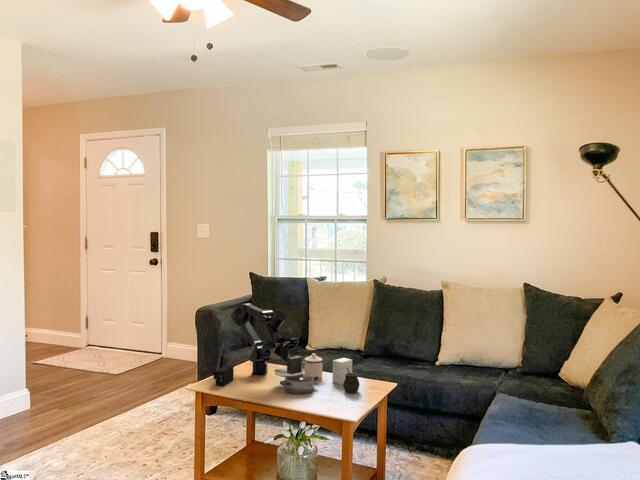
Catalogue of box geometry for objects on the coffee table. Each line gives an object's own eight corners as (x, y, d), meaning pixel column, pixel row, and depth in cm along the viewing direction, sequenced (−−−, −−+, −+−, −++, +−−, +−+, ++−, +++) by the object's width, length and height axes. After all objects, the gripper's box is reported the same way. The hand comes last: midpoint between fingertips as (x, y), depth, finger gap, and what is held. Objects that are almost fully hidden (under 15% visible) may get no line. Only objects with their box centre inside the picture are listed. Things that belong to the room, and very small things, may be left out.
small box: (343, 379, 263) (344, 357, 263) (352, 381, 259) (352, 359, 259) (332, 382, 258) (332, 360, 257) (340, 384, 254) (341, 362, 253)
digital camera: (222, 379, 260) (223, 364, 260) (233, 380, 258) (233, 365, 258) (213, 385, 250) (213, 370, 250) (224, 386, 248) (224, 371, 248)
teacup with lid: (326, 377, 266) (326, 353, 266) (315, 381, 258) (315, 357, 258) (306, 372, 273) (306, 349, 272) (295, 377, 265) (295, 353, 265)
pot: (273, 390, 244) (274, 378, 244) (306, 382, 256) (307, 371, 256) (291, 397, 234) (291, 385, 234) (324, 389, 246) (324, 377, 246)
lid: (269, 372, 252) (269, 354, 252) (292, 367, 260) (292, 350, 260) (285, 379, 242) (286, 360, 241) (309, 374, 250) (309, 356, 250)
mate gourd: (350, 395, 239) (350, 372, 238) (339, 391, 245) (339, 369, 244) (362, 392, 243) (362, 370, 243) (351, 388, 249) (351, 366, 249)
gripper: (264, 325, 250) (277, 354, 241) (297, 321, 261) (311, 348, 253) (254, 339, 256) (267, 367, 248) (287, 334, 268) (300, 361, 260)
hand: (287, 361), depth 252 cm, fingers closed
